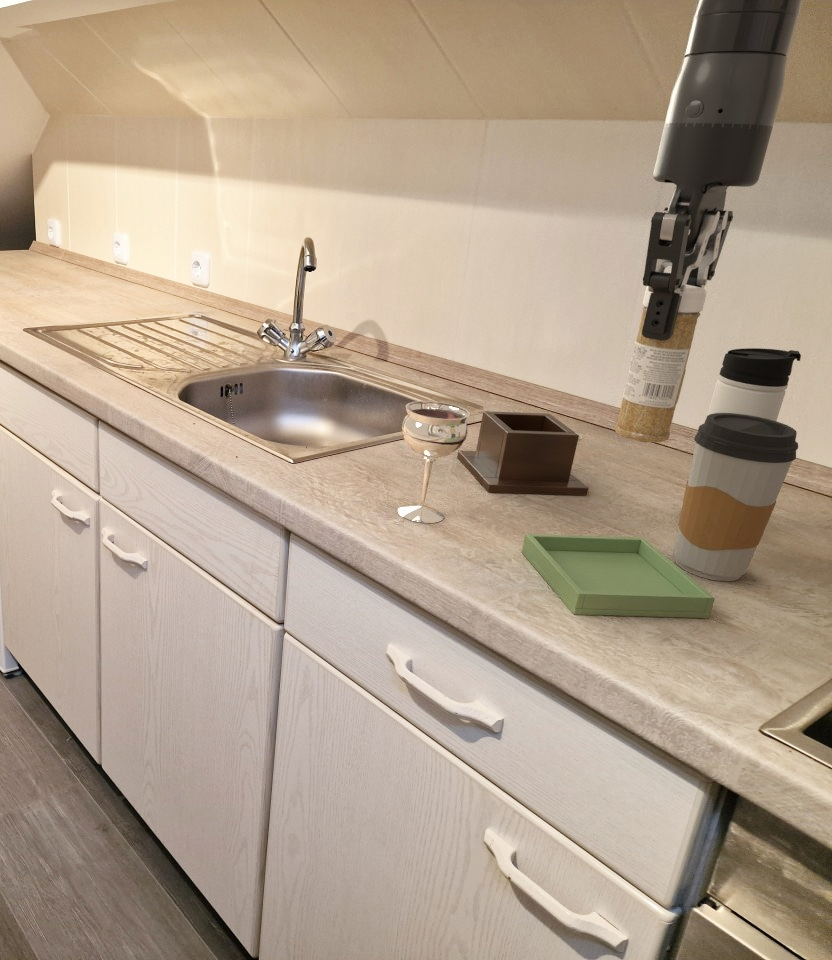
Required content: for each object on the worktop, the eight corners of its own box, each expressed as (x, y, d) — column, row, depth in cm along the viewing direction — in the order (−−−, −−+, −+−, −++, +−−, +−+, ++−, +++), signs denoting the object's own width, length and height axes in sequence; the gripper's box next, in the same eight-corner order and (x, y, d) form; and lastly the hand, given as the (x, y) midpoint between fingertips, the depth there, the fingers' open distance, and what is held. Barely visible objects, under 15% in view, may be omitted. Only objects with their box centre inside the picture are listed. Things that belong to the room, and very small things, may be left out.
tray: (639, 556, 87) (644, 537, 86) (708, 618, 75) (715, 597, 75) (521, 552, 86) (525, 533, 86) (573, 614, 75) (578, 593, 74)
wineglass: (378, 503, 96) (393, 401, 92) (431, 499, 98) (448, 399, 94) (409, 528, 90) (425, 421, 86) (464, 524, 92) (483, 418, 88)
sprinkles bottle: (669, 434, 78) (708, 285, 73) (666, 447, 74) (707, 291, 69) (615, 425, 80) (649, 279, 75) (609, 437, 76) (645, 285, 71)
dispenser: (546, 460, 113) (557, 410, 110) (587, 495, 102) (600, 440, 99) (456, 457, 112) (465, 406, 110) (488, 492, 101) (498, 436, 99)
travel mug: (746, 540, 91) (804, 358, 84) (677, 525, 94) (728, 348, 87) (744, 521, 97) (799, 347, 89) (679, 507, 99) (727, 338, 92)
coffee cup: (771, 574, 84) (819, 430, 79) (732, 595, 80) (780, 444, 74) (686, 542, 90) (725, 406, 85) (645, 560, 86) (683, 418, 80)
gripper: (749, 116, 60) (687, 354, 66) (793, 125, 70) (735, 332, 76) (637, 115, 65) (590, 337, 71) (693, 124, 74) (647, 319, 81)
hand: (665, 334), depth 74 cm, fingers closed on sprinkles bottle, 4 cm apart
